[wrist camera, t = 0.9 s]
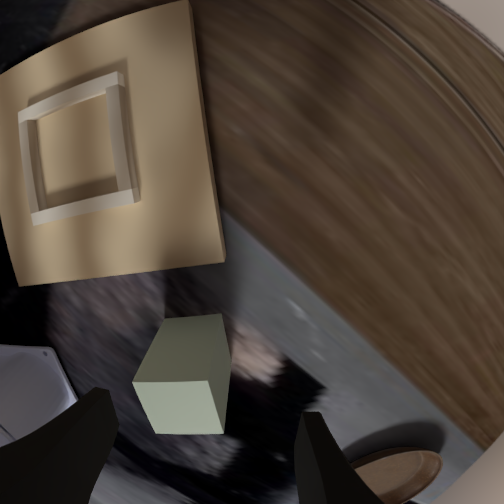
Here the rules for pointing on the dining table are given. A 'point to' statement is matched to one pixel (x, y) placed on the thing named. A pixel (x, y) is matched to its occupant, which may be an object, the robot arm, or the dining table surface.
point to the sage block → (186, 376)
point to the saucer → (399, 472)
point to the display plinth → (109, 153)
